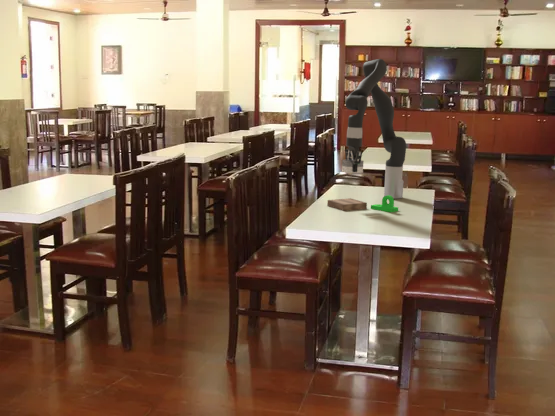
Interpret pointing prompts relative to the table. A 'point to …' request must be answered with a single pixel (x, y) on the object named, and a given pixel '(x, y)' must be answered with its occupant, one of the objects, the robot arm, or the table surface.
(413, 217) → the table surface
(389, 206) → the mechanical part
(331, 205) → the walnut stand
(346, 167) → the block
